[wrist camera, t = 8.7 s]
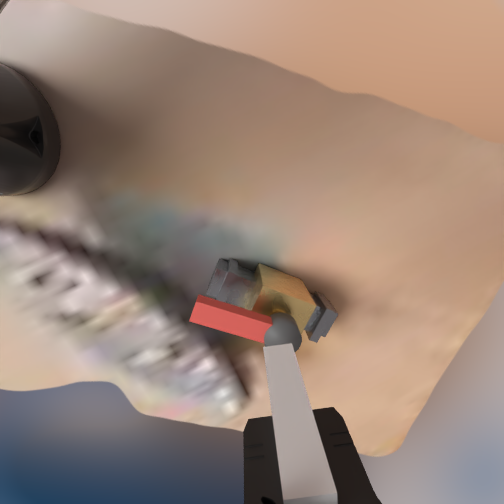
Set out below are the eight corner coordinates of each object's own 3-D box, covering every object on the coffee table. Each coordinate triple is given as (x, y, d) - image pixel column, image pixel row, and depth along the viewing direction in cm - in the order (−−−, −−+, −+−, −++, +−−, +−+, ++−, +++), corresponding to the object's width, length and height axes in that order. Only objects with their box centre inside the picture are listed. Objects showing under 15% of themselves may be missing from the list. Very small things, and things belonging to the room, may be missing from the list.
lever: (302, 318, 29) (307, 330, 27) (289, 346, 30) (292, 360, 28) (201, 286, 28) (197, 296, 25) (190, 317, 29) (186, 329, 27)
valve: (206, 291, 38) (195, 327, 29) (223, 249, 37) (217, 273, 28) (313, 329, 41) (333, 373, 32) (333, 292, 39) (361, 327, 30)
